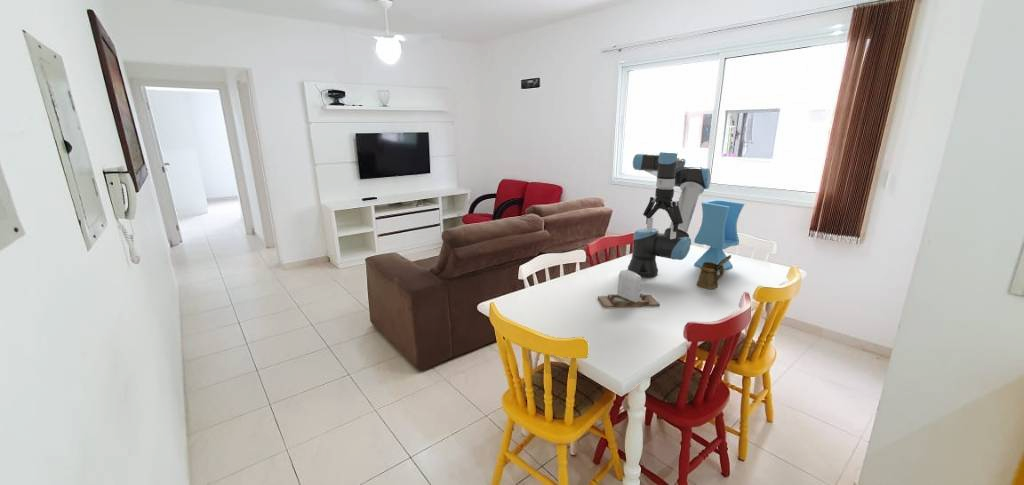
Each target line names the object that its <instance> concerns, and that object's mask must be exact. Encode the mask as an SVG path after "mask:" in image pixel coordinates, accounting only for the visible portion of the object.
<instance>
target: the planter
mask: <svg viewBox="0 0 1024 485" xmlns="http://www.w3.org/2000/svg"><path fill="white" fill-rule="evenodd" d="M744 206H745V203H743V202H737V201H736V202H735V201H730V200H729V201H728V200H722V199H711V200H705V201H702V202H701V210H702V219H701V225H700V227H699V229H698V232H697V234H696V236H695V238H694V241H693V243H694V244H698V245H705V246H709V248H708V249H707V250H706V251H705V252H704V253H703V254H702V255H701V256H700V257H699V258H698V259H697V260H696V261H695V262H694V264H693V266H694V267H697V268H701V267H702V265H703V263H704V262H711V263H715V264H719V263H720V262H721V261H722V260H723V259H724V258H726V257H727V255H726V253H725V252H724V250H727V249H728V248H730V247H735V246H739V244H740V239H739V234H738V228H737V227H738V220H739V217H740V213H741V211H742V210H743V209H744ZM733 266H734V265H733V263H732V262H731V261H730V259H729V260H728V261H727V262H726V263H724V264H723V267H724V271H727V270H729V269H732V268H733ZM717 273H720V271H719V270H718V272H717Z"/></svg>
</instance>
